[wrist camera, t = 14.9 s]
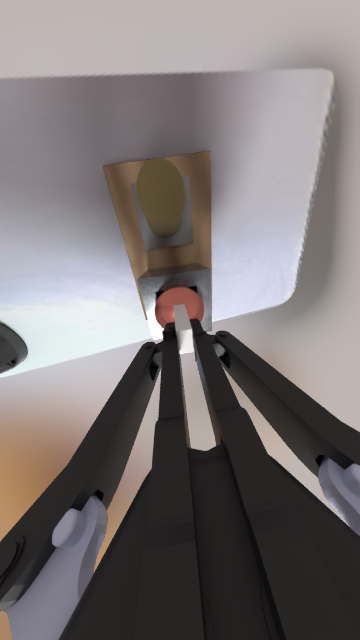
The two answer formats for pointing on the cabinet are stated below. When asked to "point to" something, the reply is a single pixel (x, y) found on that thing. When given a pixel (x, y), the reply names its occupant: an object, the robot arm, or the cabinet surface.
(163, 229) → the olive knobbed peg
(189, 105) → the cabinet surface
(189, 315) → the press plunger
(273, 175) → the cabinet surface
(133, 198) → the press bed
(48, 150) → the cabinet surface
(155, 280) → the grey push button box
